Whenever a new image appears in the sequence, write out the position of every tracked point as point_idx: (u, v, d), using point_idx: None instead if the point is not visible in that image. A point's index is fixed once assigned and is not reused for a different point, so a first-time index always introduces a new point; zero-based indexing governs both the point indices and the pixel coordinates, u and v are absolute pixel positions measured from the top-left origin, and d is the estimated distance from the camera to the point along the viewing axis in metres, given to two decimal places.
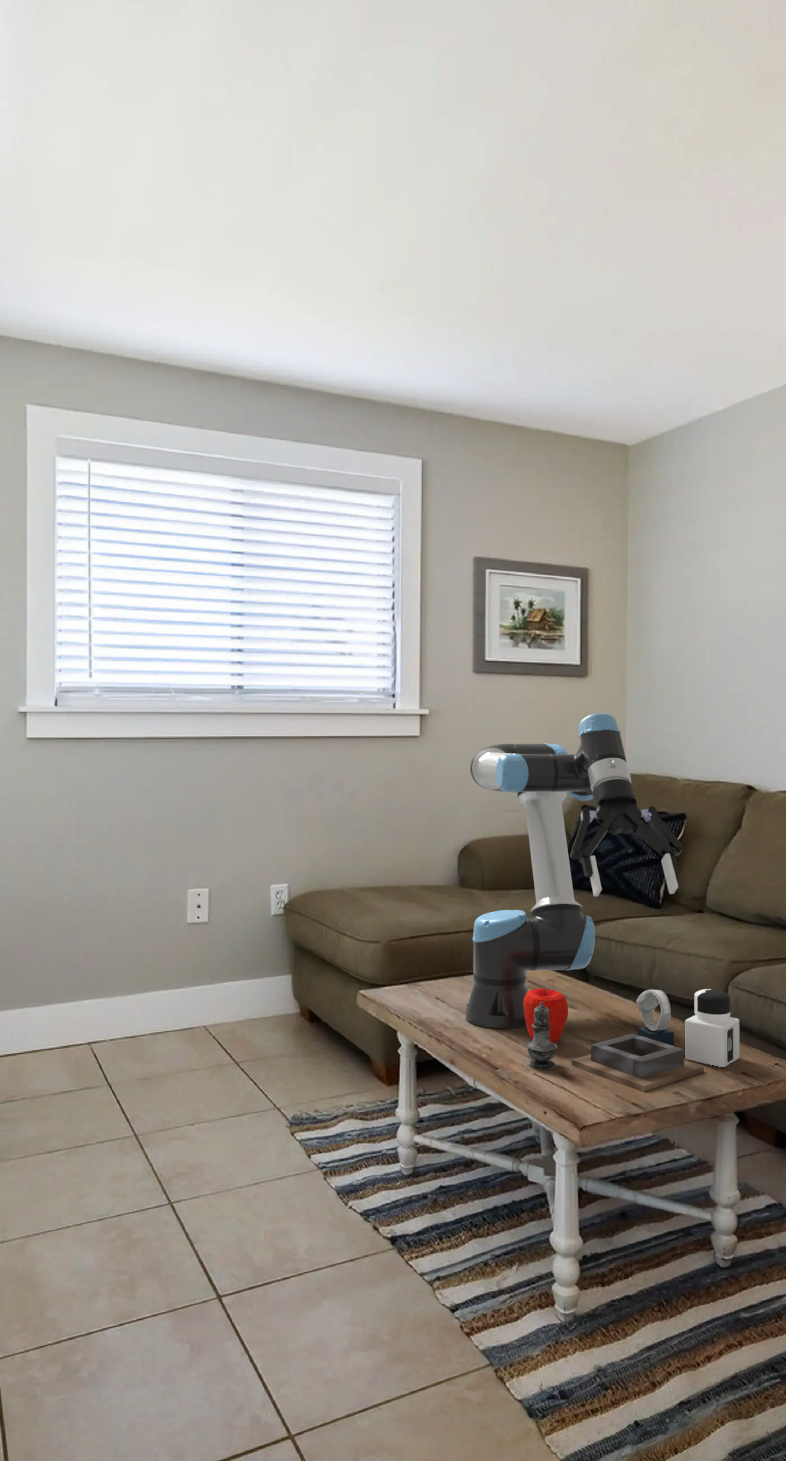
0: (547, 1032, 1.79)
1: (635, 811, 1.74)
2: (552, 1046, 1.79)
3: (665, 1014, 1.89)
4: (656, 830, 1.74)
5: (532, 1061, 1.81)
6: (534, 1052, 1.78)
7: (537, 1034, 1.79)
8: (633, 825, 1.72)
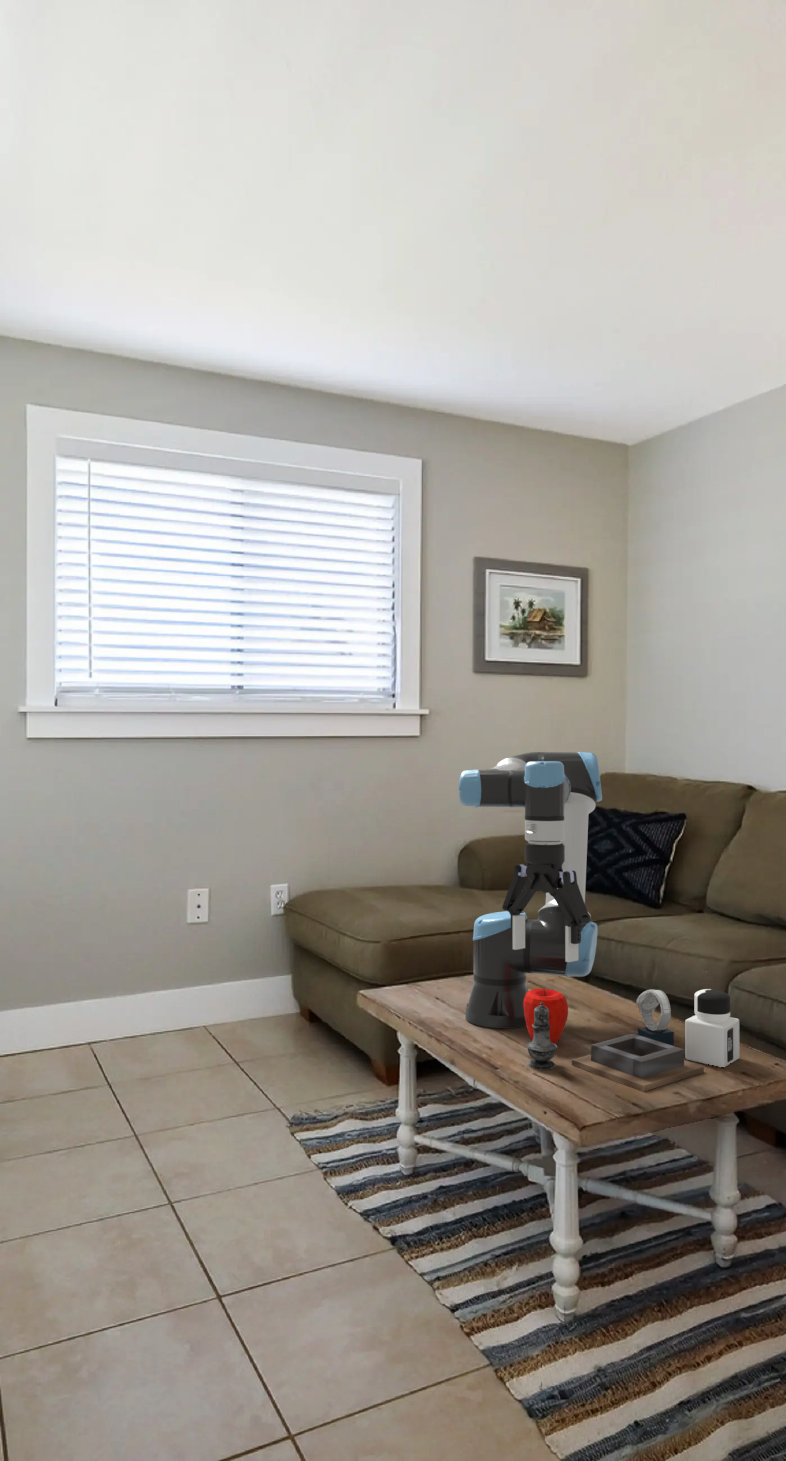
0: (547, 1032, 1.79)
1: (552, 875, 1.78)
2: (552, 1046, 1.79)
3: (665, 1014, 1.89)
4: None
5: (532, 1061, 1.81)
6: (534, 1052, 1.78)
7: (537, 1034, 1.79)
8: None
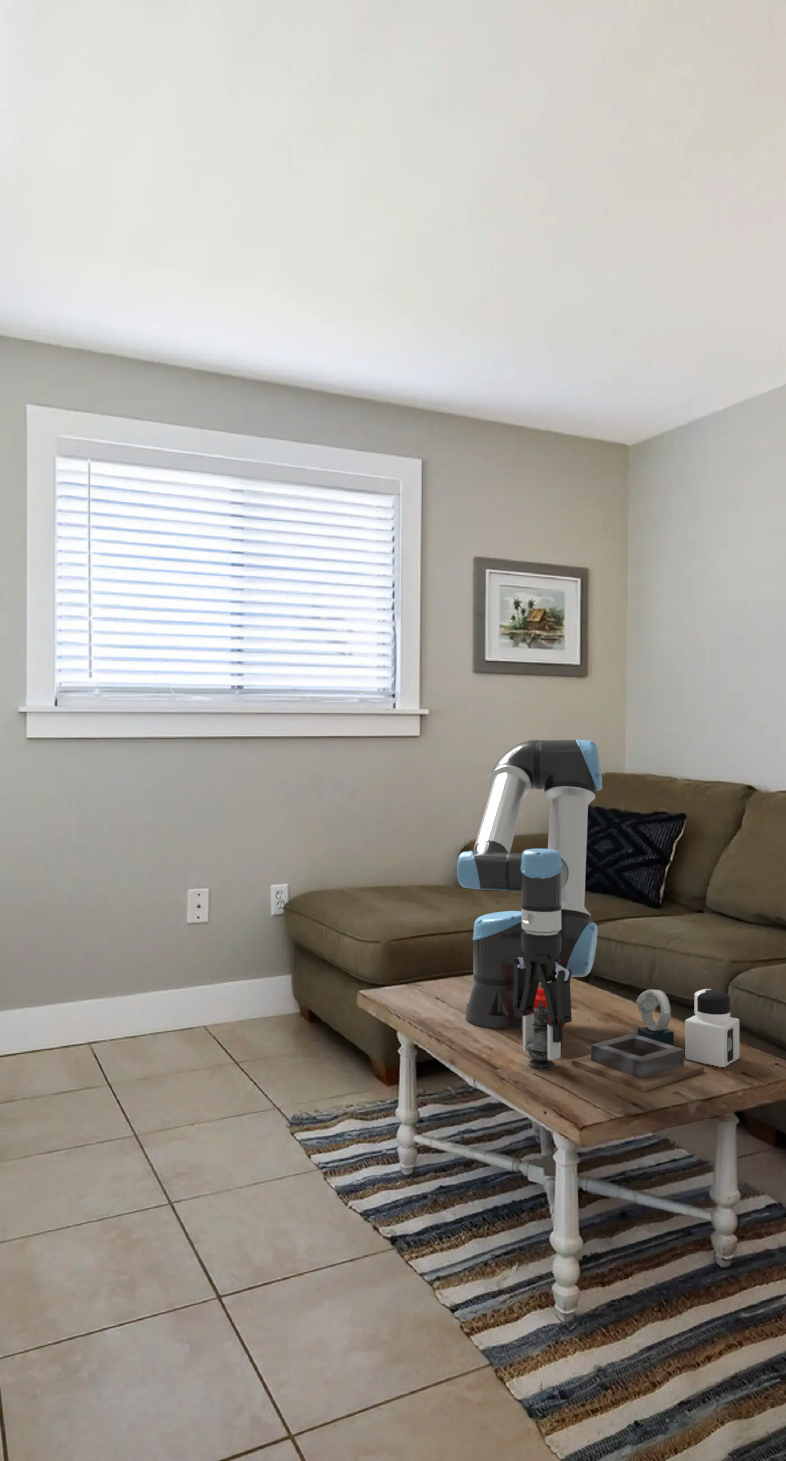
0: None
1: (548, 965, 1.78)
2: None
3: (665, 1014, 1.89)
4: None
5: (532, 1061, 1.81)
6: (534, 1052, 1.78)
7: (536, 1034, 1.79)
8: None
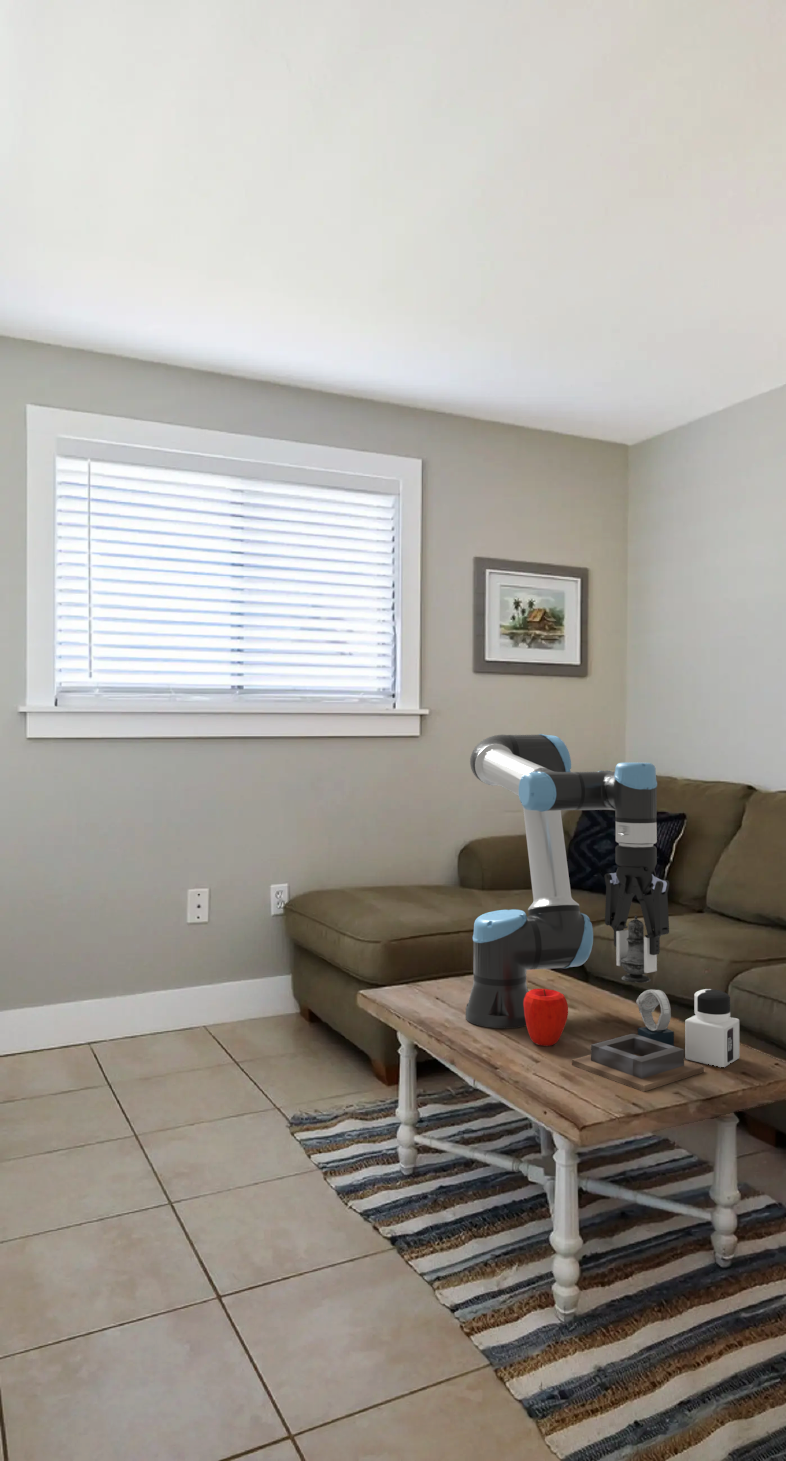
0: (642, 946, 1.77)
1: (644, 877, 1.76)
2: None
3: (665, 1014, 1.89)
4: None
5: (626, 976, 1.79)
6: (629, 965, 1.77)
7: (632, 948, 1.77)
8: None
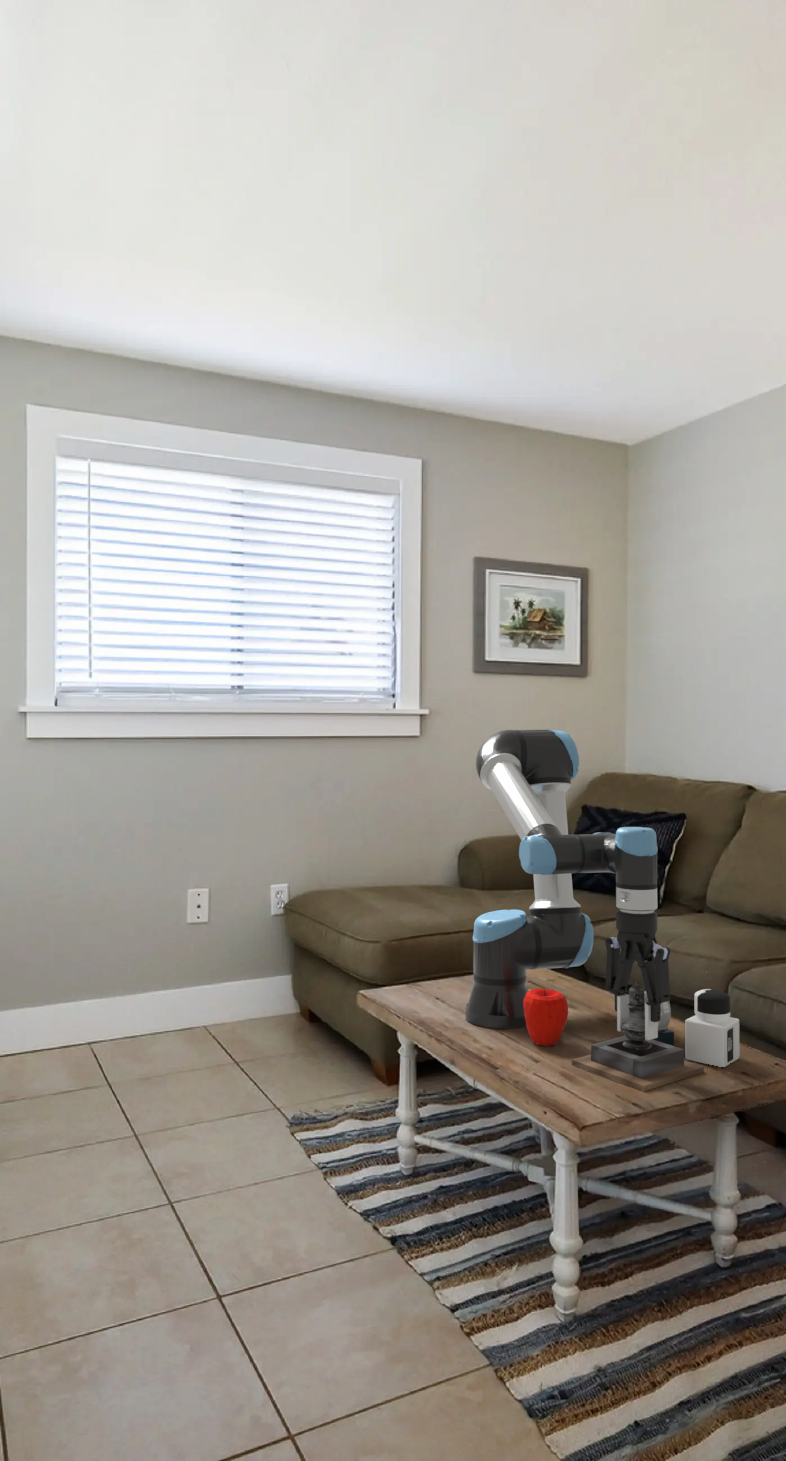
0: (643, 1012, 1.77)
1: (645, 944, 1.76)
2: None
3: (665, 1014, 1.89)
4: None
5: (627, 1041, 1.79)
6: (630, 1032, 1.76)
7: (632, 1014, 1.77)
8: None
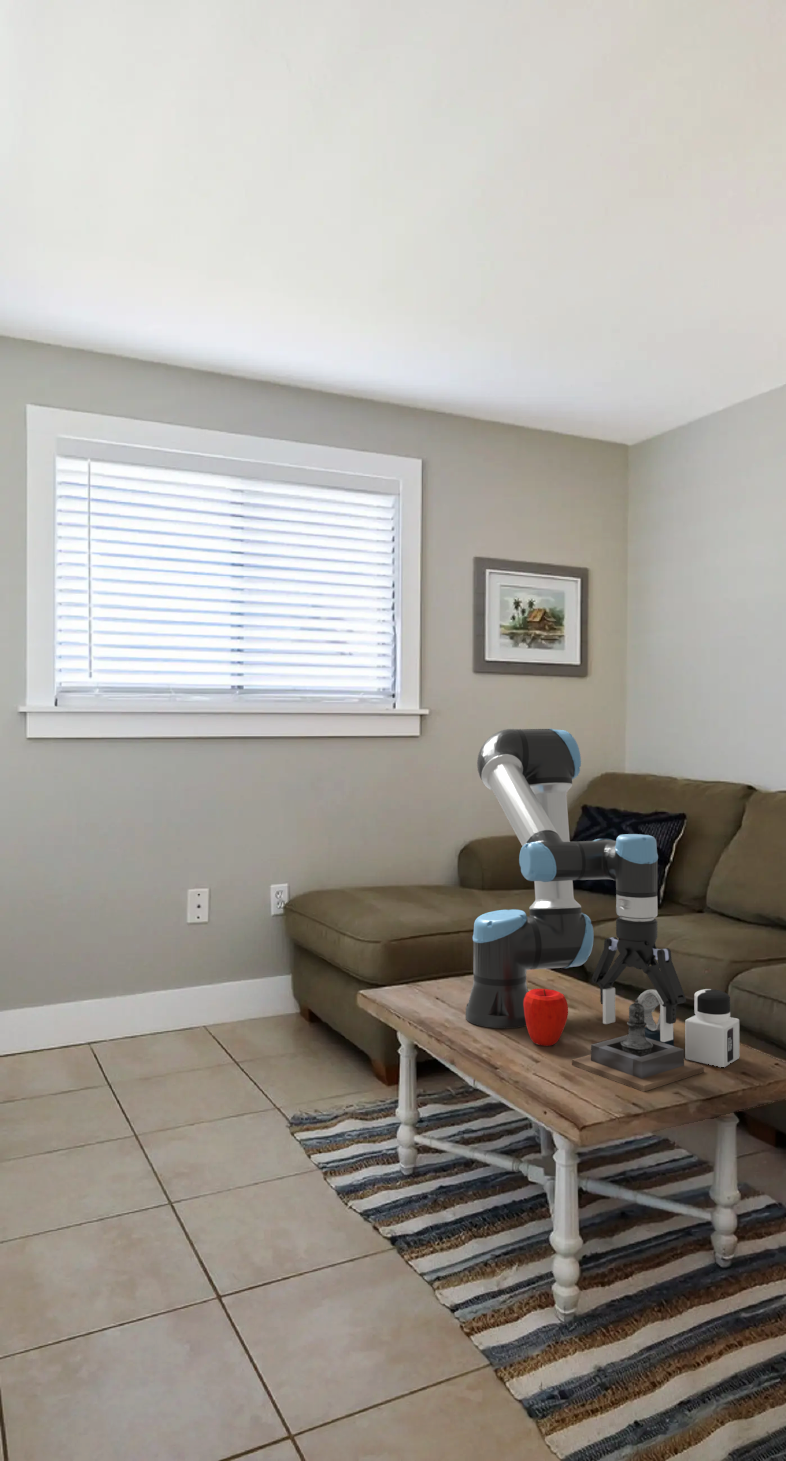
0: (643, 1030, 1.77)
1: (645, 952, 1.76)
2: (648, 1044, 1.77)
3: None
4: None
5: None
6: (630, 1050, 1.76)
7: (632, 1032, 1.77)
8: None
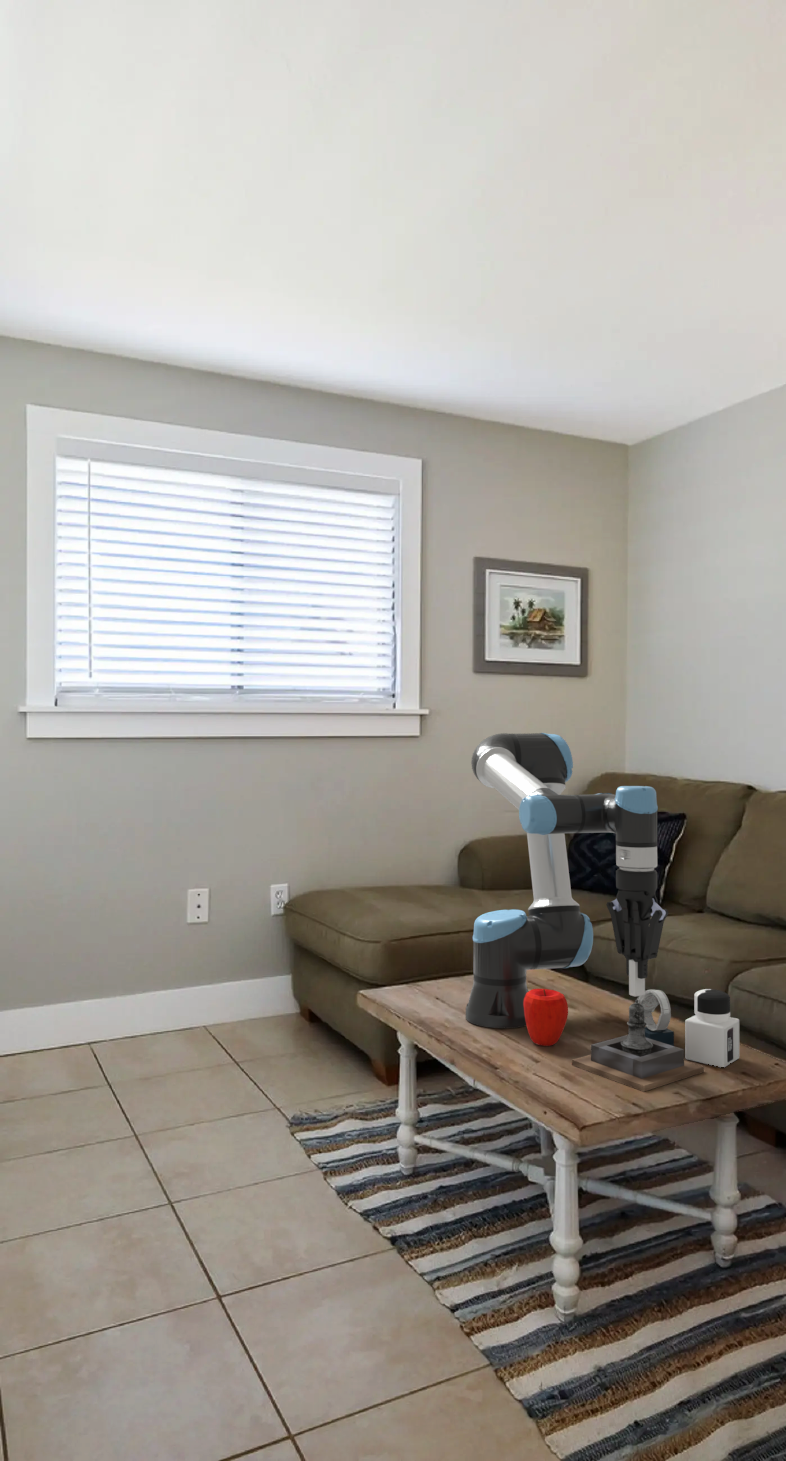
0: (643, 1030, 1.77)
1: (645, 901, 1.76)
2: (648, 1044, 1.77)
3: (665, 1014, 1.89)
4: None
5: None
6: (630, 1050, 1.76)
7: (632, 1032, 1.77)
8: None
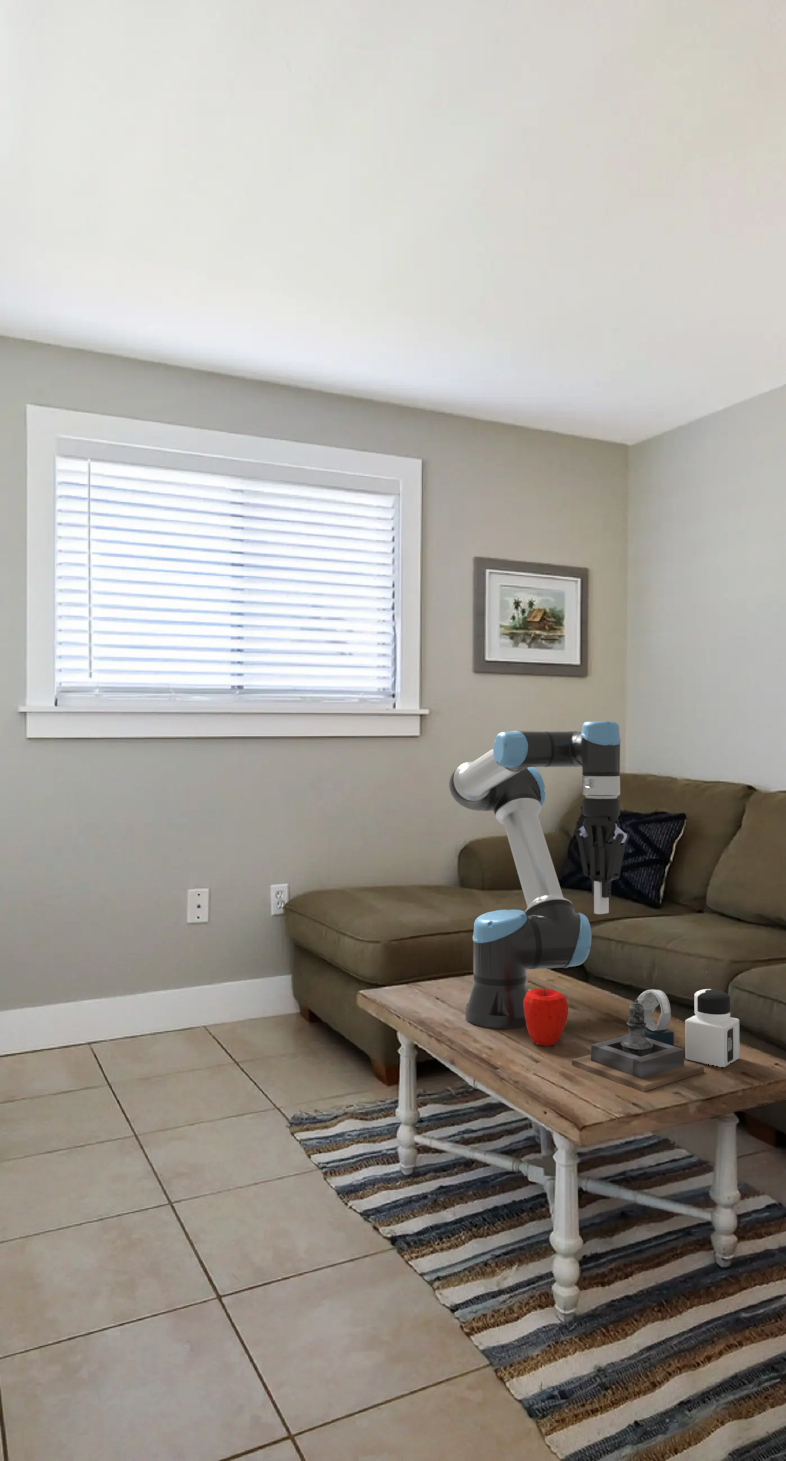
0: (643, 1030, 1.77)
1: (608, 826, 1.91)
2: (648, 1044, 1.77)
3: (665, 1014, 1.89)
4: None
5: None
6: (630, 1050, 1.76)
7: (632, 1032, 1.77)
8: None
